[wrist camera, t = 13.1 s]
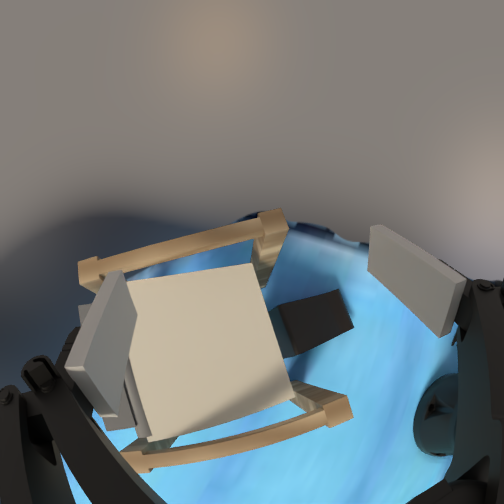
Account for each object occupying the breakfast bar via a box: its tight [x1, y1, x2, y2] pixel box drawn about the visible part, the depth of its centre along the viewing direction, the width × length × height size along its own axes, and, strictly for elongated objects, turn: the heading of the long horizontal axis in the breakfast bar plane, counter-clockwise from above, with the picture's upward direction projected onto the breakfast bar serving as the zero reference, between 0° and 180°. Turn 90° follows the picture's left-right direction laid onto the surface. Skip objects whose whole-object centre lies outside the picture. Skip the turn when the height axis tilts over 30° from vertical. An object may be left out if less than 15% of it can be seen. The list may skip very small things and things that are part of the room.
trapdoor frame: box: [78, 208, 354, 474], centre depth 28 cm, size 18×18×19 cm
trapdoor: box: [78, 263, 295, 442], centre depth 22 cm, size 13×16×3 cm
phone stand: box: [268, 289, 354, 359], centre depth 36 cm, size 9×6×12 cm
